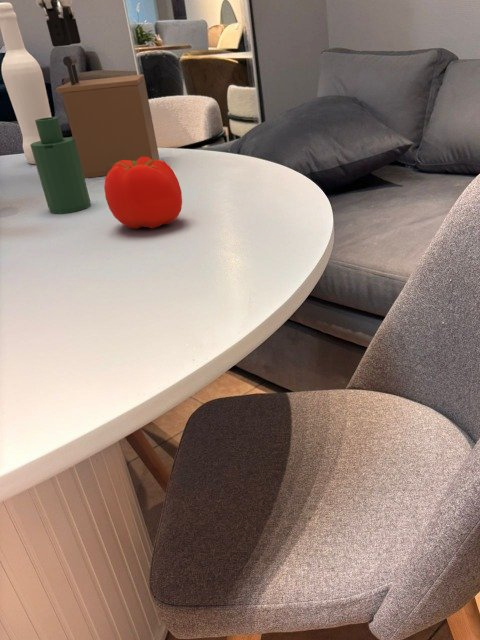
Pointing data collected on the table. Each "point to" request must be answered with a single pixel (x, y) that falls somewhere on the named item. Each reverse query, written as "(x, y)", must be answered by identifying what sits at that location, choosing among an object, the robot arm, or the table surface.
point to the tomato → (143, 193)
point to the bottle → (22, 81)
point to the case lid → (93, 84)
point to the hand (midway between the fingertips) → (67, 44)
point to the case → (111, 126)
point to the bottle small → (59, 168)
